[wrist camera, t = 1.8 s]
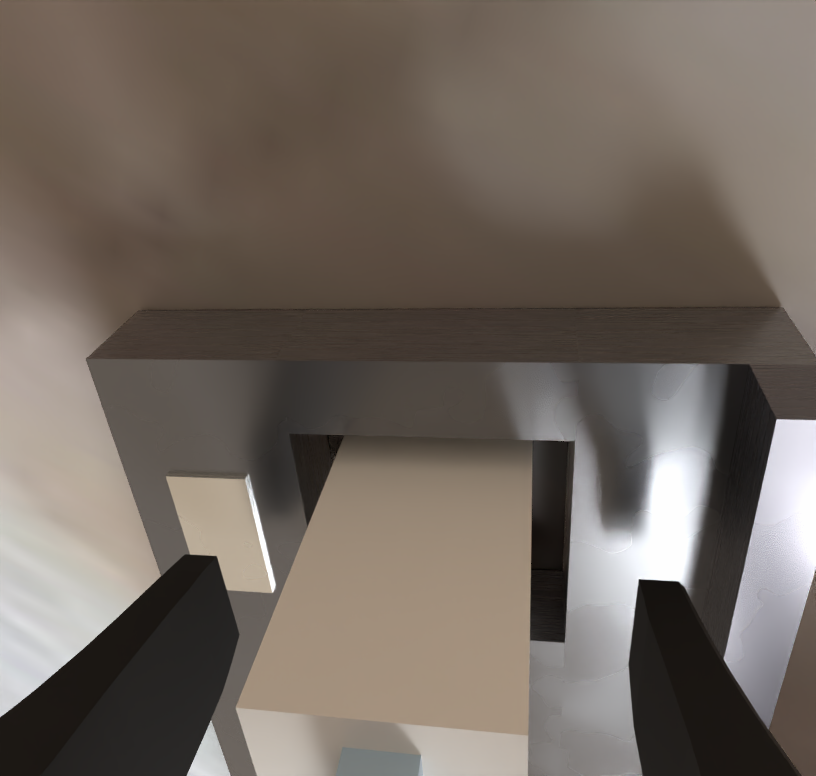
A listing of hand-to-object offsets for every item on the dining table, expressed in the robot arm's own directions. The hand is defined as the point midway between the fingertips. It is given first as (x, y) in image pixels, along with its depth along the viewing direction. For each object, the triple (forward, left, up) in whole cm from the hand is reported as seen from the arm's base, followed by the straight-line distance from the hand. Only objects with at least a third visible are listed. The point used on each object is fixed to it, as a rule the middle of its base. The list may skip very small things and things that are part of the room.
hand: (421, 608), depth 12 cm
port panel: (0, +5, -4) cm, 6 cm away
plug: (0, 0, -4) cm, 4 cm away
